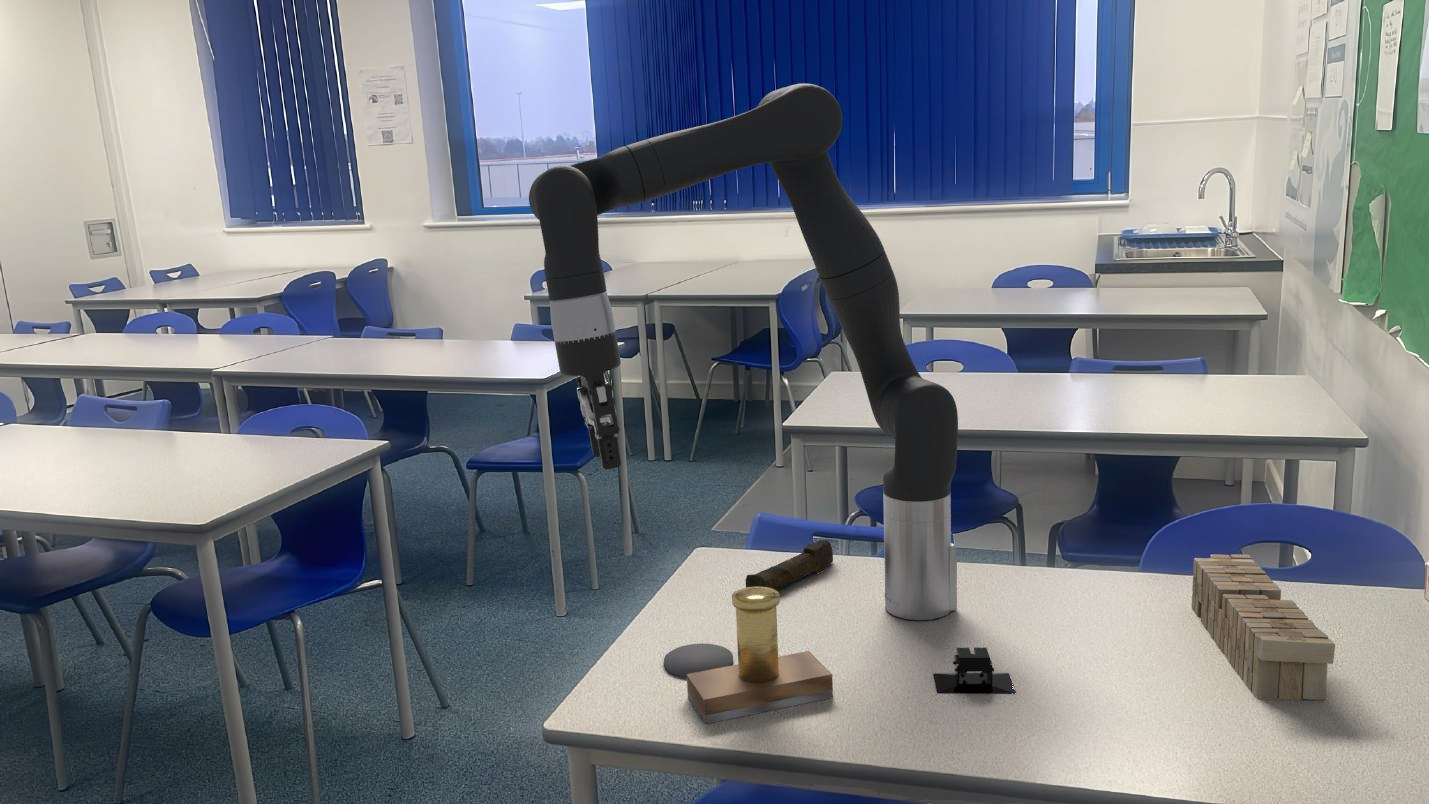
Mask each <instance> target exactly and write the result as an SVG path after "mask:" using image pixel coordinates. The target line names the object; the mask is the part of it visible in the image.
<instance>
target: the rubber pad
mask: <svg viewBox="0 0 1429 804" xmlns="http://www.w3.org/2000/svg"><path fill="white" fill-rule="evenodd" d="M732 665H734V655H733V653H732V651H731V650H729V649H728V648H727V647H725V646H722V645H718V644H713V643H692V644H686V645H681V646H678V647H675V648H673V649H672V650H670V651H669V652H668V653H666V654H665V656H664V658H663V666H664V669H665V671H666V672H667V673H668V674H671V675H673V676H675V677H677V678H678V677H679V678H683V679H687V674H690V673H695V672H701V671H706V670H711V669H716V668H722V667H727V666H732Z"/></svg>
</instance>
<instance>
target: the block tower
mask: <svg viewBox="0 0 1429 804" xmlns="http://www.w3.org/2000/svg"><path fill="white" fill-rule="evenodd" d="M1192 574H1193V575H1192V588H1191V589H1192V593H1191V610H1192V611H1193V613H1194V614H1195V615H1196V617H1200V622H1201V625H1202V626H1203V628H1204V629H1205V630H1206V631H1207V633H1208V634H1209V636H1210V638H1211V639H1212V640H1213V641H1214V643H1215V645H1216V646H1217V648H1218V649H1219V652H1221V653H1222V654H1223V656H1224V657H1225V659H1226V660H1227V662H1228V664H1230V666H1231V668H1232V669H1233V670H1234V672H1235V673H1236V675H1238V677H1239V678H1240V680H1241V681H1242V682H1243V683H1244V685H1245V687H1247V689H1248V690H1249V692H1251V693H1252V695H1253V697H1254V698H1256V699H1266V700H1267V699H1272V700H1278V699H1279V700H1296V701H1297V700H1298V701H1300V700H1302V699H1303V700H1311V701H1312V700H1316V701H1317V700H1318V701H1319V700H1322V701H1324V700H1327V678H1328V677H1327V676H1328V665H1329V664H1330V665H1333V664H1334V659H1335V650H1336V644H1335V642H1334V641H1333V640H1332V639H1330V638H1329V636H1328V635H1327V634H1326V633H1325V632H1324V631H1322V630H1321V629H1320V628H1318V627H1317V626H1316V625H1315V623H1314V621H1312V620H1311V619H1309V617H1308V616H1307V615H1306V613H1305V612H1304V610H1302V609H1300V608H1299V606H1298V605H1297V603H1296V602H1295V601H1294V600H1292V599H1290V600H1289V599H1282V598H1281V596H1282V589H1281V588H1280V587H1279V586H1278V585H1277V584H1276V583H1275V582H1274V580H1272V579H1271V577H1270V576H1269V575H1267V573H1266V571H1265V570H1263V568H1262V567H1261V566H1259V565H1258V563H1256V561H1255V560H1253V558H1252V556H1251V555H1249V554H1237V553H1236V554H1235V553H1234V554H1233V553H1232V554H1230V555H1228V554H1213V553H1212V554H1210V555H1209V557H1207V558H1203V557H1194V558H1193V571H1192Z"/></svg>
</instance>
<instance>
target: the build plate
mask: <svg viewBox="0 0 1429 804" xmlns="http://www.w3.org/2000/svg"><path fill="white" fill-rule="evenodd" d="M973 652H974V653H972V651H971V649H970V647H956V654H954V657H953V658H954V659H953V660H952V665H954V667H953V669H954V670H953V672H933V673H932V676H933V682H934V686H935V690H936V691H935V692H936V694H939V695H1016V694H1015V693H1017V690H1016V689H1015V690H1014V689H1012V688H1013V687H1012V686H1014V683H1012V682H1013V680H1012V678H1010V677H1011V674H1010V673H1009V672H995V668H994V666H993V662H992V659H991V655H990V654H989V650H988V648H987V647H973ZM1012 684H1013V685H1012ZM1014 687H1015V686H1014ZM1012 693H1013V694H1012Z"/></svg>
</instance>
